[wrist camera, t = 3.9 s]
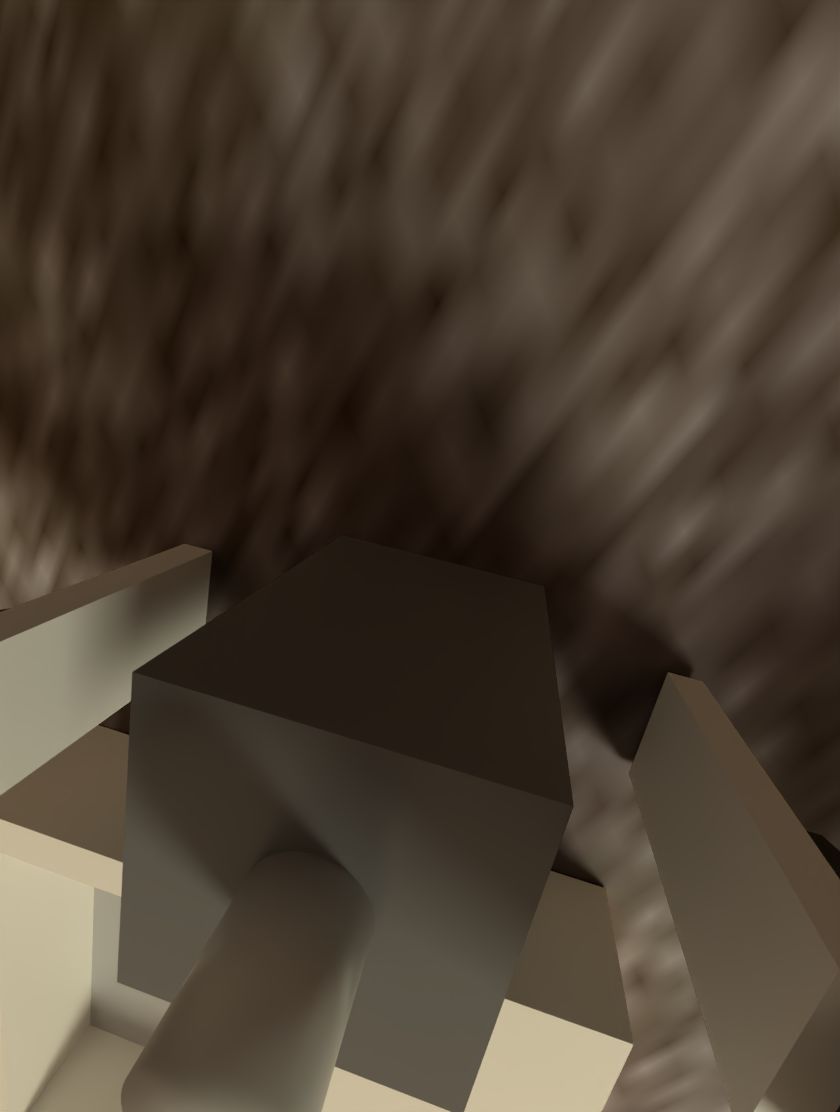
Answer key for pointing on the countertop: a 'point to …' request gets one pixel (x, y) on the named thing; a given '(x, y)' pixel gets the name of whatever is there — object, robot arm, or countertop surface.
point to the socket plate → (132, 1016)
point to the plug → (339, 832)
